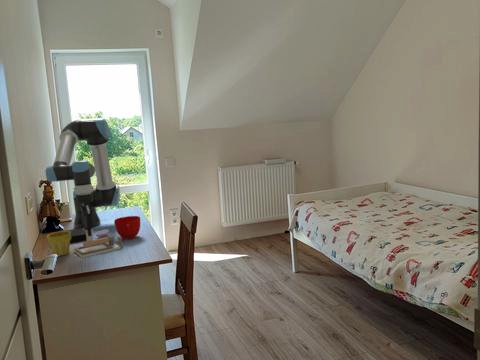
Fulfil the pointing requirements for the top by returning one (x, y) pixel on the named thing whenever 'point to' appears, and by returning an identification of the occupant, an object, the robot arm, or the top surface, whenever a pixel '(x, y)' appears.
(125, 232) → the ceramic cup
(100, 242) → the bar
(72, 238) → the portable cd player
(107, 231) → the toy table
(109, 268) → the top surface
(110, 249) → the seating jig
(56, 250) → the plant pot
